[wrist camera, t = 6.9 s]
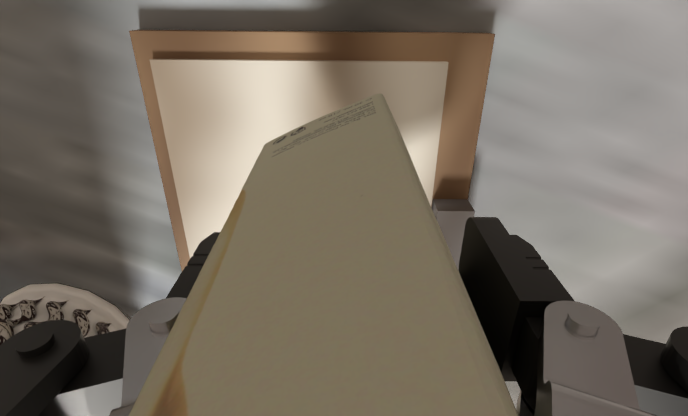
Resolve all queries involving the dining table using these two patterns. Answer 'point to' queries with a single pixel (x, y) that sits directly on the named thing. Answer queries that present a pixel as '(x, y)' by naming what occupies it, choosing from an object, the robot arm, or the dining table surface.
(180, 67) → the clipboard
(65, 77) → the dining table surface
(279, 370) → the skincare box
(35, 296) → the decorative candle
